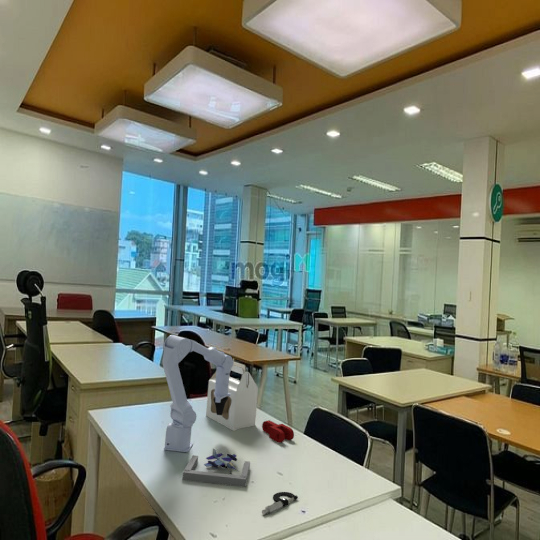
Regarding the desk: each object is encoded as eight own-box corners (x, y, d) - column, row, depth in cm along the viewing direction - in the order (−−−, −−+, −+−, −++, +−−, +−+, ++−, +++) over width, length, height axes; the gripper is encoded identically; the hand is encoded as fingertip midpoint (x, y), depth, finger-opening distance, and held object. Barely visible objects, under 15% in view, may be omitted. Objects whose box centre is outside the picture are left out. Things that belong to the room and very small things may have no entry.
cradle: (182, 479, 132) (182, 472, 132) (192, 462, 145) (192, 455, 145) (245, 487, 131) (245, 479, 131) (249, 468, 144) (250, 461, 144)
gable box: (205, 415, 194) (210, 358, 195) (227, 411, 203) (231, 356, 204) (233, 430, 178) (238, 367, 179) (255, 425, 187) (260, 365, 188)
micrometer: (283, 491, 131) (284, 483, 131) (299, 501, 126) (300, 493, 126) (249, 506, 121) (249, 498, 121) (265, 518, 116) (266, 509, 116)
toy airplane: (240, 480, 135) (241, 469, 135) (200, 476, 136) (201, 465, 136) (245, 463, 148) (246, 453, 148) (208, 459, 149) (209, 449, 149)
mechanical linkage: (293, 441, 172) (294, 429, 172) (281, 444, 168) (282, 432, 168) (269, 428, 184) (270, 418, 185) (257, 431, 180) (258, 420, 180)
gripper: (228, 388, 163) (225, 421, 163) (233, 379, 177) (231, 410, 177) (211, 386, 163) (208, 419, 163) (218, 377, 178) (215, 408, 178)
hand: (219, 414), depth 170 cm, fingers closed
